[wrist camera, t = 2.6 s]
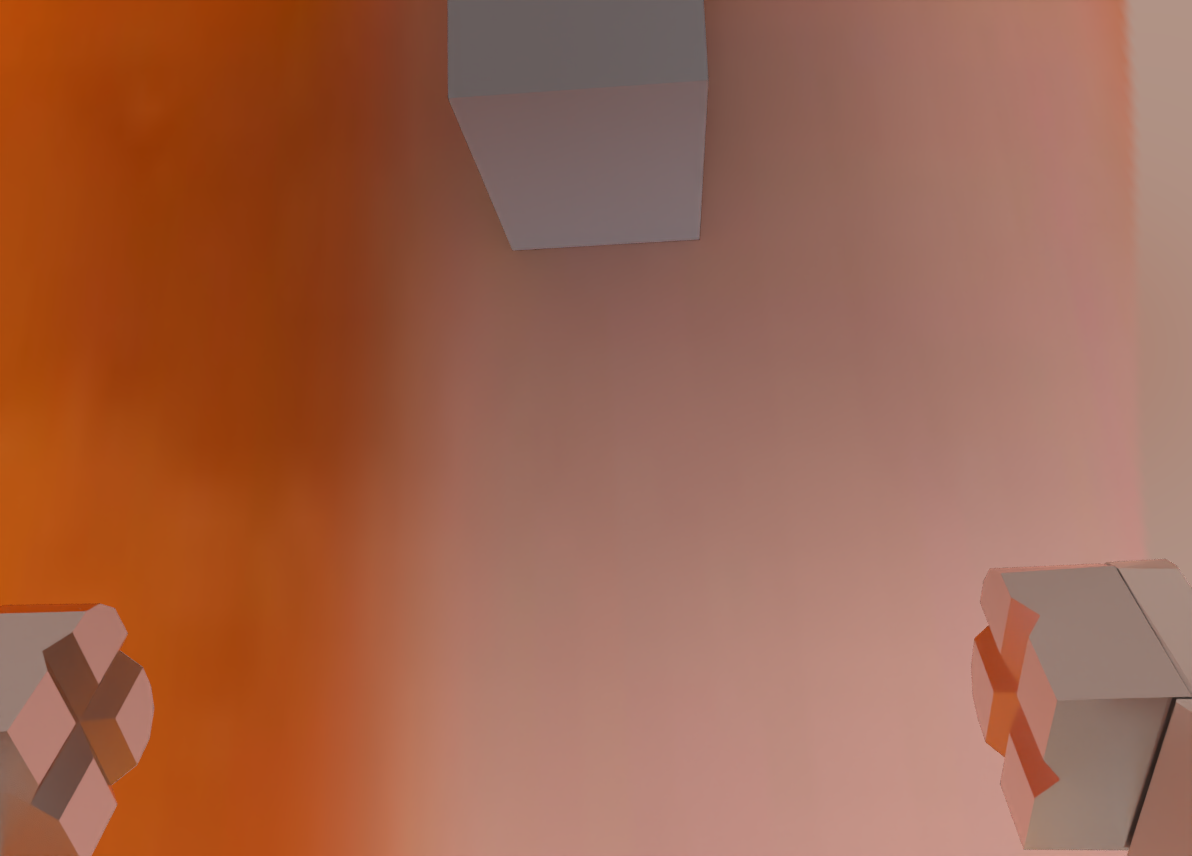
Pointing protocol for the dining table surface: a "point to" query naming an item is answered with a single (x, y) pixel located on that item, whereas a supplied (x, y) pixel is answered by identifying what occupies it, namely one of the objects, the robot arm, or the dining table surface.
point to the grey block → (584, 116)
